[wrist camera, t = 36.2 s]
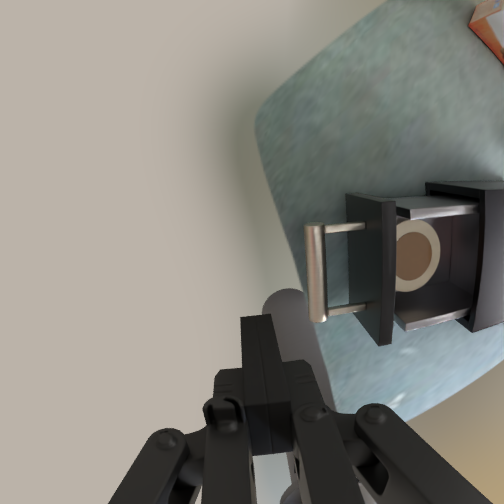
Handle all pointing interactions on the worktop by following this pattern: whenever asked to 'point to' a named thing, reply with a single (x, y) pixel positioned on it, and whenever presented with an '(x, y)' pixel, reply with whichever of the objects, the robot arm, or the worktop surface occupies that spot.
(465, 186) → the box
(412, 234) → the cream cylinder brown top
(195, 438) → the robot arm
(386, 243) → the black pull-out drawer
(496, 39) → the cracker box
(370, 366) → the worktop surface
